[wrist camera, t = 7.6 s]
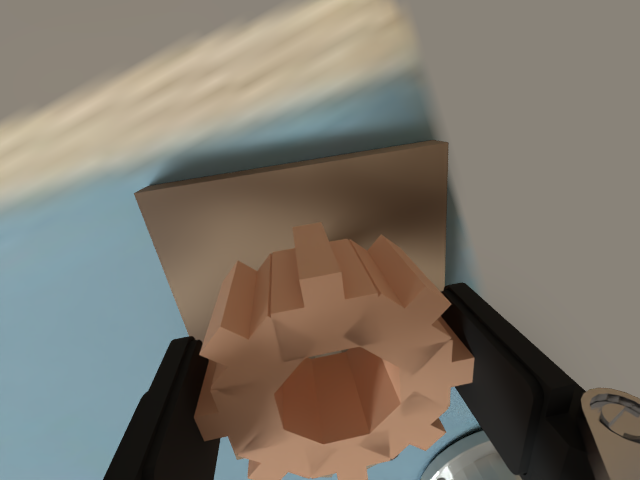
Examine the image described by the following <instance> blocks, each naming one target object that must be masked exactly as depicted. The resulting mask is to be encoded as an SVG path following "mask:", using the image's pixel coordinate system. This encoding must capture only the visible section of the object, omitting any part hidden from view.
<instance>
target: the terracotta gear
mask: <svg viewBox="0 0 640 480" xmlns="http://www.w3.org/2000/svg"><path fill="white" fill-rule="evenodd" d="M292 229H293V237H294V244H295V248H292V249H286V250H281V251H276V252H272V254H271V253H270V254H269V256H268V257H267V259H266V260H265V261H264V263H263V264H262V265H261V267H260V268H259V269H258V271H256V270H254V269H252V268H251V267H249V266H247V265H245V264H243V263H242V262H240V261H237V262H236V264H235V265H234V266H233V268H232V269H231V271H230V272H229V273H228V275H227V276H226V278H225V279H224V280H223V282H222V285H221V289H220V292H219V295H218V298H217V301H216V304H215V307H214V310H213V313H212V317H211V320H210V323H209V326H208V329H207V332H206V335H205V338H204V342H203V345H202V348H201V351H200V354H199V355H201V356H203V357H205V358H208V359H209V362H208V366H207V370H206V374H205V377H204V381H203V385H202V389H201V392H200V396H199V400H198V404H197V407H196V411H195V415H194V419H195V422H196V424H197V426H198V428H199V430H200V433H201V435H202V437H203V439H204V441H208V440H213V439H217V438H222V437H226V436H229V439H230V442H231V444H232V447H233V449H234V452H235V454H238V455H237V456H240V457H243V458H246V459H249V467H248V478H249V479H252V480H281V479H282V478H283V477H284V476H285V475H286V474H287V473H288V472H290V473H293V474H296V475H299V476H302V477H305V478H310V477H311V478H312V479H313V478H317V477H321V476H326V475H330V474H334V473H337V477H338V480H368V476H367V469H366V466H369V465H373V464H377V463H382V462H386V461H390V458H391V459H394V458H395V457H396V456H397V455H398V454H399V453H400V452H401V451H402V450H403V449H405V448H406V447H407V446H408V445H409V444H410V445H413V446H415V447H418V448H420V449H422V450H425V451H426V450H427V449H428V448H429V447H431V446H432V445H433V444H434V443H435V442H436V441H437V440H438V439H440V438H441V437H442V436H443V435H444V434H445V433H446V431H445V429H444V427H443V425H442V423H441V421H440V420H439V417H440V416H441V415H442V414H443V413H444V412H445V411H446V410H447V409H448V407H449V406H450V388H451V387H454V386H459V385H463V384H468V383H472V380H473V369H474V356H473V355H472V354H471V353H470V351H469V350H468V349H467V348H466V346H465V345H464V344H463V343H462V342H461V340H460V339H459V338H458V337H457V335H456V334H455V333H454V332H453V330H452V329H451V328H450V327H449V326H448V324H447V323H446V322H445V321H444V319H443V318H442V317H441V315H442V314H443V313H444V312H445V311H446V310H447V309H448V308H449V306H450V305H451V303H450V302H449V301H448V299H447V298H446V297H445V296H444V295H443V294H442V293H441V292H440V291H439V290H438V289H437V287H436V286H435V285H434V284H433V283H432V282H431V281H430V280H429V279H428V278H427V276H426V275H425V274H424V273H423V272H422V271H421V270H420V269H419V268H418V267H417V266H416V264H415V263H414V262H413V261H412V260H411V259H410V258H409V257H408V256H407V255H406V253H405V252H404V251H403V250H402V249H401V248H400V247H398V246H397V245H395V244H394V243H393V242H391V241H390V240H388V239H387V238H386V237H384V236H383V235H382V234H381V235H380V236H379V237H378V238H377V240H376V241H375V242H374V243H373V244H372V246H371V247H370V248H369V249H368V250H365V249H364V248H362V247H361V246H360V245H358V244H357V243H355V242H354V241H352V240H351V239H349V240H348V239H341V240H336V241H330V242H329V240H328V238H327V235H326V233H325V230H324V228H323V225H322V223H321V222H318V223H313V224H307V225H302V226H296V227H292ZM345 349H348V350H347V351H346V352H343V353H338V354H333V355H328V356H324V357H319V358H314V359H310V358H308V357H311V356H316V355H321V354H326V353H331V352H336V351H340V350H345Z"/></svg>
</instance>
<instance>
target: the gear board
mask: <svg viewBox="0 0 640 480" xmlns="http://www.w3.org/2000/svg"><path fill="white" fill-rule="evenodd" d="M447 174H448V142H442V141H436V140H430V141H424V142H418V143H411V144H405V145H399V146H393V147H387V148H380V149H374V150H368V151H362V152H356V153H349V154H343V155H337V156H331V157H325V158H318V159H312V160H306V161H300V162H294V163H287V164H281V165H275V166H269V167H263V168H256V169H250V170H244V171H238V172H232V173H225V174H219V175H213V176H207V177H201V178H194V179H188V180H182V181H176V182H170V183H163V184H157V185H151V186H147V187H145V188H143V189H141V190H139V191H138V192H136V193H134V195H135V198H136V200H137V203H138V205H139V208H140V210H141V213H142V216H143V218H144V221H145V223H146V226H147V229H148V231H149V234H150V236H151V239H152V241H153V244H154V247H155V249H156V252H157V254H158V257H159V260H160V262H161V265H162V267H163V270H164V272H165V275H166V278H167V280H168V283H169V285H170V288H171V291H172V293H173V296H174V298H175V301H176V303H177V306H178V309H179V311H180V314H181V316H182V319H183V322H184V324H185V327H186V329H187V332H188V334H189V336H193V337H194V338H195V340H201V341H202V344H203V342H204V338H205V335H206V332H207V329H208V326H209V323H210V320H211V317H212V313H213V310H214V307H215V304H216V301H217V298H218V295H219V292H220V289H221V285H222V282H223V280H224V279H225V278H226V276H227V275H228V273H229V272H230V271H231V269H232V268H233V266H234V265H235V264H236V262H237V261H240V262H242V263H243V264H245V265H247V266H249V267H251V268H252V269H254V270H256V271H258V269H259V268H260V267H261V265H262V264H263V263H264V261H265V260H266V259H267V257H268V256H269V254H270V253H271V254H272V252H276V251H281V250H286V249H292V248H295V244H294V237H293V229H292V227H296V226H302V225H307V224H313V223H318V222H321V223H322V225H323V228H324V230H325V233H326V235H327V238H328V240H329V242H330V241H336V240H341V239H348V240H349V239H351V240H352V241H354V242H355V243H357V244H358V245H360V246H361V247H362V248H364V249H365V250H368V249H369V248H370V247H371V246H372V244H373V243H374V242H375V241H376V240H377V238H378V237H379V236H380V235H381V234H382V235H383V236H384V237H386V238H387V239H388V240H390V241H391V242H393V243H394V244H395V245H397V246H398V247H400V248H401V249H402V250H403V251H404V252H405V253H406V255H407V256H408V257H409V258H410V259H411V260H412V261H413V262H414V263H415V264H416V266H417V267H418V268H419V269H420V270H421V271H422V272H423V273H424V274H425V275H426V276H427V278H428V279H429V280H430V281H431V282H432V283H433V284H434V285H435V286H436V287H437V289H438V290H439V291H440V292H441V291H443V290H444V287H445V251H446V213H447ZM347 350H348V349H345V350H340V351H336V352H331V353H326V354H321V355H316V356H311V357H308V358H310V359H314V358H319V357H324V356H328V355H333V354H338V353H343V352H346V351H347ZM228 438H229V436H228ZM229 440H230V439H229ZM230 443H231V442H230ZM231 446H232V444H231ZM232 448H233V447H232ZM233 451H234V449H233ZM234 453H235V452H234ZM237 455H238V454H235V456H236V458H237V460H238V459H243V457H240V456H237ZM398 455H399V454H398ZM398 455H397V456H398ZM397 456H396V457H397ZM396 457H395V458H396ZM395 458H394V459H395ZM390 460H393V459H391V458H390ZM377 464H378V463H377ZM374 465H376V464H373V465H369V466H366V469H368V468H370V467H372V466H374ZM332 475H333V474H330V475H326V476H321V477H332Z"/></svg>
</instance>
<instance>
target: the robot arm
mask: <svg viewBox="0 0 640 480" xmlns="http://www.w3.org/2000/svg"><path fill="white" fill-rule="evenodd" d="M441 293H442V294H443V295H444V296H445V297H446V298H447V299H448V301H449V302H450V303H451V305H450V306H449V308H448V309H447V310H446V311H445V312H444V313H443V314H442V315H441V317H442V318H443V319H444V321H445V322H446V323H447V324H448V326H449V327H450V328H451V329H452V330H453V332H454V333H455V334H456V335H457V337H458V338H459V339H460V340H461V342H462V343H463V344H464V345H465V346H466V348H467V349H468V350H469V351H470V353H471V354H472V355H473V356H474V369H473V380H472V383H468V384H463V385H459V386H455V388H456V389H457V391H458V392H459V394H460V395H461V397H462V398H463V400H464V402H465V403H466V405H467V406H468V408H469V409H470V411H471V412H472V414H473V415H474V417H475V418H476V420H477V421H478V423H479V424H480V426H481V428H482V429H483V430H482V431H479V432H476V433H474V434H471V435H469V436H467V437H465V438H463V439H461V440H459V441H457V442H456V443H454V444H453V445H451V446H449V447H448V448H447V449H445V450H444V451H443V452H442V453H440V454H439V455H438V456H437V457H436V458H435V459H434V460H433V461H432V462H431V463H430V464H429V466H428V467H427V469H426V470H425V472H424V473H423V475H422V477H421V480H640V399H639V398H637V397H635V396H632V395H630V394H628V393H625V392H622V391H618V390H614V389H610V388H595V389H590V390H588V391H587V392H586V391H585V390H584V389H582V388H581V387H580V386H579V385H578V384H577V383H576V382H575V381H574V380H573V379H571V378H570V377H569V376H568V375H567V374H566V373H565V372H564V371H562V370H561V369H560V368H559V367H558V366H557V365H556V364H554V362H552V361H551V360H550V359H549V358H548V357H547V356H546V355H545V354H543V353H542V352H541V351H540V350H539V349H538V348H537V347H536V346H535V345H534V344H532V343H531V342H530V341H529V340H528V339H527V338H526V337H525V336H523V335H522V334H521V333H520V332H519V331H518V330H517V329H516V328H515V327H514V326H512V325H511V324H510V323H509V322H508V321H507V320H505V319H504V318H503V317H502V316H501V315H500V314H499V313H498V312H497V311H495V310H494V309H493V308H492V307H491V306H490V305H489V304H488V303H487V302H485V301H484V300H483V299H482V298H481V297H480V296H479V295H478V294H477V293H475V292H474V291H473V290H472V289H471V288H470V287H469V286H468V285H467V284H465V283H457V284H452V285H447V286H445V287H444V290H443V291H441ZM202 345H203V344H202V341H201V340H195V338H194V337H193V336H189V337H184V338H179V339H174V340H172V341H171V343H170V345H169V347H168V349H167V351H166V353H165V356H164V358H163V360H162V362H161V364H160V367H159V369H158V371H157V373H156V375H155V378H154V380H153V382H152V384H151V386H150V389H149V391H148V392H146V393H145V394H144V395H143V397H142V398H141V400H140V402H139V404H138V406H137V408H136V410H135V412H134V415H133V417H132V419H131V421H130V423H129V425H128V427H127V430H126V432H125V434H124V436H123V438H122V440H121V442H120V444H119V447H118V449H117V451H116V453H115V455H114V457H113V459H112V462H111V464H110V466H109V468H108V470H107V472H106V474H105V476H104V479H103V480H213V479H214V474H215V468H216V462H217V456H218V450H219V444H220V438H217V439H213V440H208V441H204V439H203V437H202V435H201V433H200V430H199V428H198V426H197V424H196V422H195V419H194V415H195V411H196V407H197V404H198V400H199V396H200V392H201V389H202V385H203V381H204V377H205V374H206V370H207V366H208V362H209V359H208V358H205V357H203V356H201V355H199V354H200V351H201V348H202Z"/></svg>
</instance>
